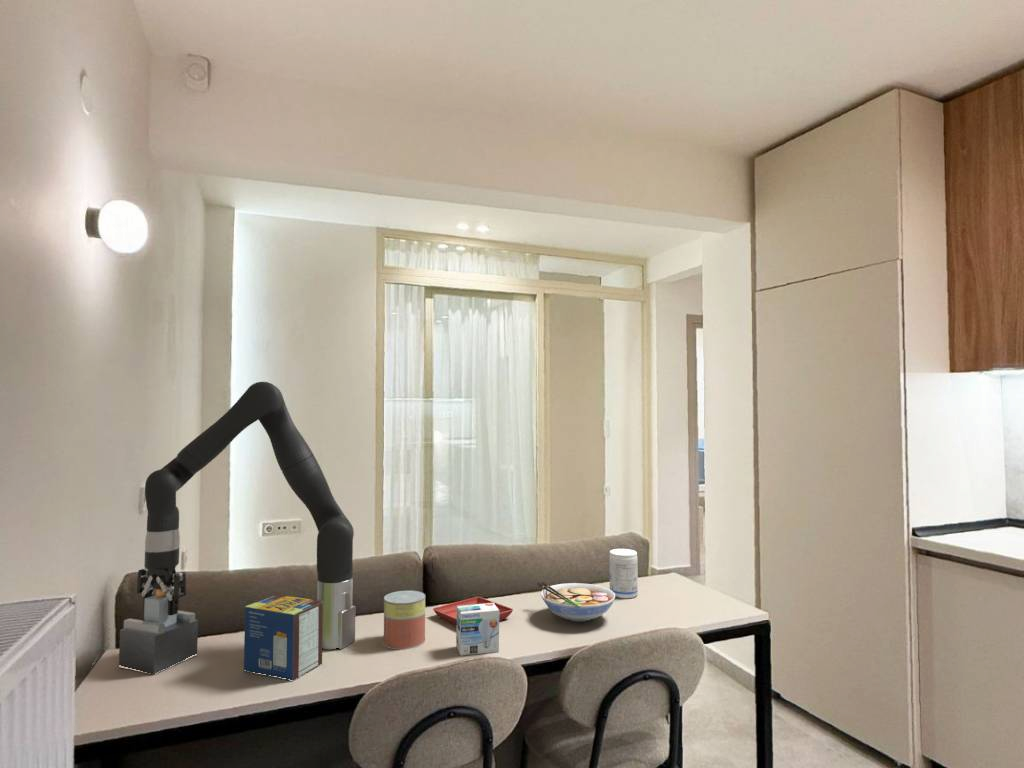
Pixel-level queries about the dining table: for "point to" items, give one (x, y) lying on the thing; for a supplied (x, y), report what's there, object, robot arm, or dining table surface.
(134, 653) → the grey ridged block
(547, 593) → the ramen bowl
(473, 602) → the plant saucer
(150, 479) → the robot arm
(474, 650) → the light bulb box
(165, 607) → the block
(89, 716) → the dining table surface
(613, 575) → the supplement tub
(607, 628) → the dining table surface
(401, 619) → the canned food
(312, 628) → the protein box
